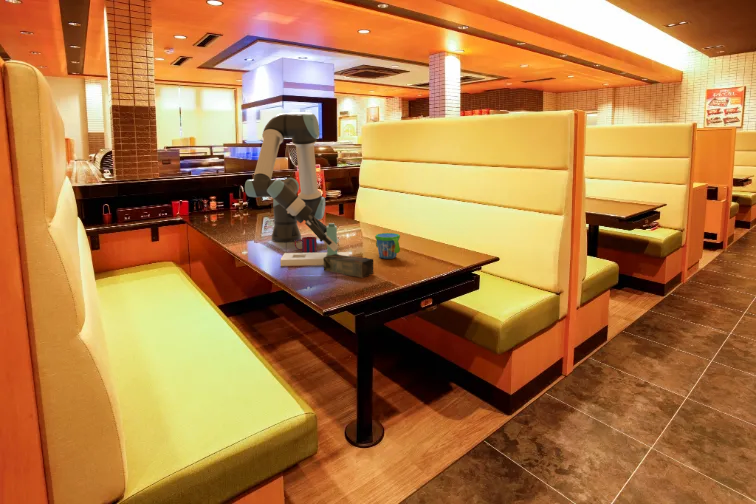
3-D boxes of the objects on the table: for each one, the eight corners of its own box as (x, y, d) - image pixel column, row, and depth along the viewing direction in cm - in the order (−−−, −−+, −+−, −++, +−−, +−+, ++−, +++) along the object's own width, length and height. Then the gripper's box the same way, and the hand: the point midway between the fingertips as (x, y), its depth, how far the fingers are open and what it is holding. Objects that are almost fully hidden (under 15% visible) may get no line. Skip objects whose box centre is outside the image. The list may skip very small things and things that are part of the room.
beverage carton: (334, 267, 196) (334, 251, 195) (374, 274, 186) (374, 257, 185) (322, 272, 189) (322, 255, 188) (363, 279, 180) (363, 262, 178)
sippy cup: (369, 255, 216) (369, 233, 214) (390, 252, 221) (390, 231, 218) (384, 262, 202) (384, 239, 200) (406, 260, 207) (406, 236, 205)
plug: (328, 260, 205) (326, 222, 201) (337, 260, 205) (336, 222, 202) (327, 262, 201) (326, 224, 198) (337, 262, 201) (336, 224, 198)
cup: (317, 253, 220) (316, 239, 218) (294, 254, 218) (294, 239, 217) (316, 250, 226) (316, 236, 224) (295, 251, 225) (294, 236, 223)
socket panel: (284, 259, 208) (284, 253, 207) (349, 258, 210) (349, 252, 209) (280, 266, 196) (280, 259, 196) (349, 265, 198) (348, 258, 197)
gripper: (297, 212, 210) (332, 245, 214) (289, 221, 186) (329, 258, 190) (308, 200, 209) (343, 233, 213) (303, 208, 185) (342, 245, 189)
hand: (337, 245), depth 202 cm, fingers open, 13 cm apart
